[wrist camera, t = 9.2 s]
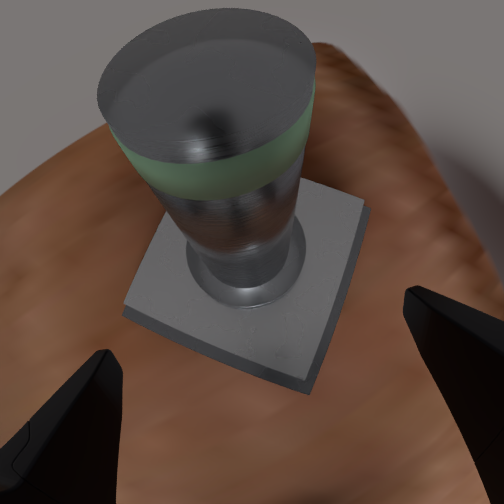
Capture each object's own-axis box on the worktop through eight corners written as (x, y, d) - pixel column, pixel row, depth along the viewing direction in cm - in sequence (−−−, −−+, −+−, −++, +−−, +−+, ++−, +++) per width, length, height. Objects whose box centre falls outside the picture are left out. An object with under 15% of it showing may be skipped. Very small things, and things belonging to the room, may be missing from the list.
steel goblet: (327, 260, 19) (422, 83, 5) (234, 332, 18) (131, 276, 4) (257, 180, 21) (238, -21, 7) (169, 242, 20) (40, 80, 6)
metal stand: (367, 213, 23) (380, 193, 20) (307, 393, 20) (314, 401, 16) (203, 159, 26) (194, 134, 22) (127, 317, 22) (105, 310, 19)
